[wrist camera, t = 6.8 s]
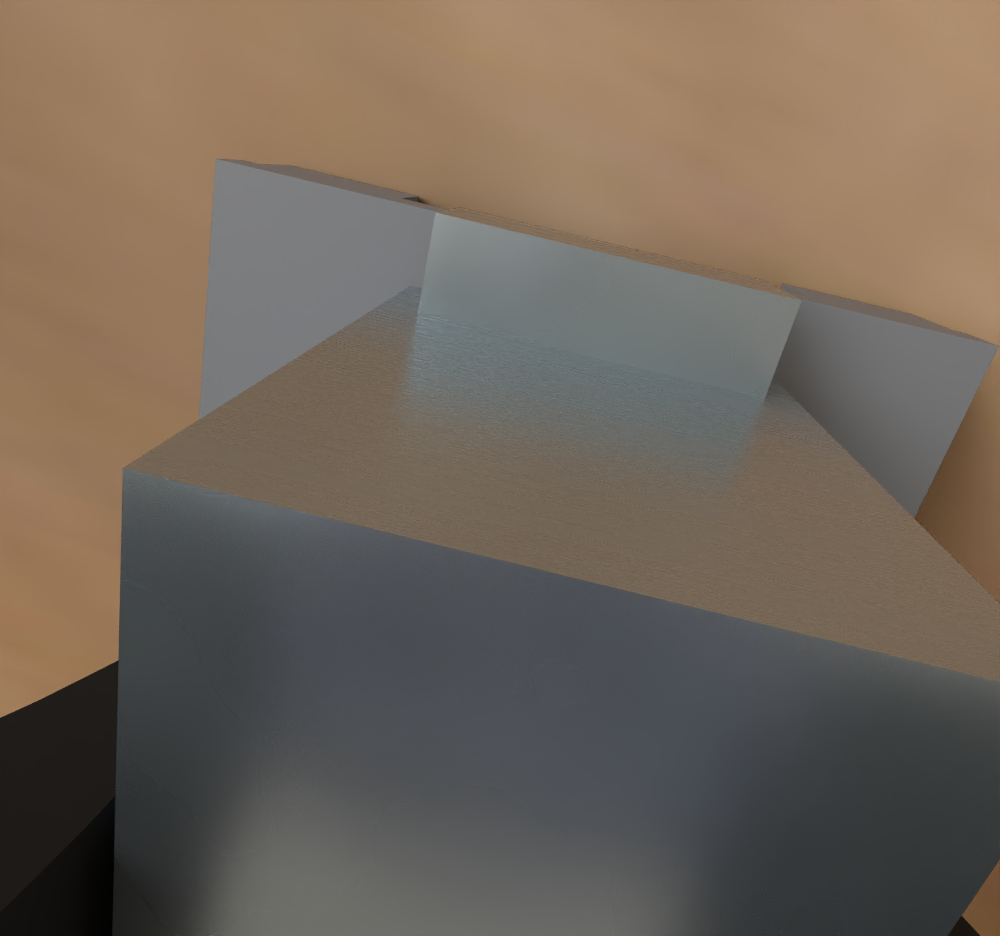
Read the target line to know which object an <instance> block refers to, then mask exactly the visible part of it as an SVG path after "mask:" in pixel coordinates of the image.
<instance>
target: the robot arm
mask: <svg viewBox="0 0 1000 936" xmlns="http://www.w3.org/2000/svg"><path fill="white" fill-rule="evenodd" d="M118 664H119V660H118V661H116V662H114V663H112V664H110V665H108V666H106V667H105V668H103V669H101V670H99V671H97V672H95V673H93V674H91V675H89V676H87V677H85V678H83V679H81V680H79V681H77V682H75V683H73V684H71V685H69V686H67V687H65V688H63V689H61V690H59V691H57V692H55V693H53V694H51V695H49V696H47V697H45V698H43V699H41V700H39V701H36V702H34V703H32V704H30V705H28V706H26V707H23V708H21V709H19V710H17V711H15V712H13V713H10V714H8V715H6V716H3V717H1V718H0V936H112V926H113V882H114V839H115V795H116V751H117V708H118ZM948 936H980V935H979V934H978V933H977V932H976V931H975V930H974V929H973V928H972V926H971V925H970V924H969V923H968V922H967V921H966V920H965V919H964V918H963V917H962V916H961V917H960V919H959V920H958V921H957V923H956V924H955V926H954V927H953V929H952V930H951V932H950V933H949V935H948Z"/></svg>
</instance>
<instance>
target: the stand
mask: <svg viewBox="0 0 1000 936" xmlns="http://www.w3.org/2000/svg"><path fill="white" fill-rule="evenodd" d="M418 198H419V196H415V195H411V194H407V193H403V192H399V191H394V190H390V189H386V188H382V187H378V186H373V185H369V184H365V183H361V182H357V181H353V180H348V179H344V178H340V177H336V176H332V175H328V174H323V173H319V172H315V171H311V170H307V169H302V168H298V167H294V166H290V165H272V164H256V163H252V162H248V161H244V160H229V159H216V162H215V177H214V193H213V209H212V225H211V240H210V256H209V272H208V287H207V303H206V319H205V335H204V350H203V366H202V382H201V397H200V413H199V419H201V418H203V417H204V416H206V415H207V414H209V413H210V412H212V411H214V410H215V409H217V408H218V407H220V406H221V405H223V404H225V403H226V402H228V401H229V400H231V399H232V398H234V397H236V396H237V395H239V394H240V393H242V392H243V391H245V390H247V389H248V388H250V387H251V386H253V385H254V384H256V383H258V382H259V381H261V380H262V379H264V378H266V377H267V376H269V375H270V374H272V373H273V372H275V371H277V370H278V369H280V368H281V367H283V366H284V365H286V364H288V363H289V362H291V361H292V360H294V359H295V358H297V357H299V356H300V355H302V354H303V353H305V352H306V351H308V350H310V349H311V348H313V347H314V346H316V345H317V344H319V343H321V342H322V341H324V340H325V339H327V338H328V337H330V336H332V335H333V334H335V333H336V332H338V331H340V330H341V329H343V328H344V327H346V326H347V325H349V324H351V323H352V322H354V321H355V320H357V319H358V318H360V317H362V316H363V315H365V314H366V313H368V312H369V311H371V310H373V309H374V308H376V307H377V306H379V305H380V304H382V303H384V302H385V301H387V300H388V299H390V298H391V297H393V296H395V295H396V294H398V293H399V292H401V291H402V290H404V289H406V288H407V287H409V286H414V287H418V288H422V286H423V280H424V275H425V269H426V263H427V258H428V252H429V246H430V241H431V235H432V229H433V224H434V218H435V213H436V212H440V211H444V210H448V209H444V208H440V207H436V206H431V205H427V204H423V203H419V202H418ZM781 290H783V291H785V292H787V293H788V294H790V295H792V296H794V297H796V298H798V299H800V300H802V301H801V304H800V306H799V309H798V312H797V314H796V317H795V320H794V322H793V325H792V328H791V330H790V333H789V336H788V338H787V341H786V343H785V346H784V349H783V351H782V354H781V357H780V359H779V362H778V365H777V367H776V370H775V373H774V375H773V378H774V379H775V380H776V381H777V382H778V383H779V384H780V385H781V386H782V387H783V388H784V389H785V390H786V391H787V392H788V393H789V394H790V395H791V396H792V397H793V398H794V399H795V400H796V401H797V402H798V403H799V404H800V405H801V406H802V407H803V408H804V409H805V410H806V411H807V412H808V413H809V414H810V415H811V416H812V417H813V418H814V419H815V420H816V421H817V422H818V423H819V424H820V425H821V426H822V427H823V428H824V429H825V430H826V431H827V432H828V433H829V434H830V435H831V436H832V437H833V438H834V439H835V440H836V441H837V442H838V443H839V444H840V445H841V446H842V447H843V448H844V449H845V450H846V451H847V452H848V453H849V454H850V455H851V456H852V457H853V458H854V459H855V460H856V461H857V462H858V463H859V464H860V465H861V466H862V467H863V468H864V469H865V470H866V471H867V472H868V473H869V474H870V475H871V476H872V477H873V478H874V479H875V480H876V481H877V482H878V483H879V484H880V485H881V486H882V487H883V488H884V489H885V490H886V491H887V492H888V493H889V494H890V495H891V496H892V497H893V498H894V499H895V500H896V501H897V502H898V503H899V504H900V505H901V506H902V507H903V508H904V509H905V510H906V511H907V512H908V513H909V514H910V515H911V516H912V517H913V518H915V516H916V514H917V512H918V510H919V508H920V506H921V504H922V502H923V499H924V497H925V495H926V493H927V491H928V489H929V487H930V485H931V483H932V481H933V479H934V477H935V475H936V473H937V471H938V469H939V467H940V465H941V463H942V461H943V459H944V457H945V455H946V453H947V451H948V449H949V447H950V445H951V443H952V440H953V438H954V436H955V434H956V432H957V430H958V428H959V426H960V424H961V422H962V420H963V418H964V416H965V414H966V412H967V410H968V408H969V406H970V404H971V402H972V400H973V398H974V396H975V394H976V392H977V390H978V388H979V386H980V384H981V382H982V379H983V377H984V375H985V373H986V371H987V369H988V367H989V365H990V363H991V361H992V359H993V357H994V355H995V353H996V351H997V349H998V347H999V346H997V345H994V344H992V343H989V342H987V341H984V340H981V339H979V338H976V337H974V336H971V335H969V334H966V333H962V332H958V331H953V330H950V329H948V328H945V327H943V326H940V325H938V324H935V323H933V322H930V321H928V320H925V319H923V318H920V317H918V316H915V315H912V314H908V313H904V312H900V311H896V310H891V309H887V308H883V307H879V306H875V305H870V304H866V303H862V302H858V301H854V300H850V299H845V298H841V297H837V296H833V295H829V294H825V293H820V292H816V291H812V290H808V289H804V288H799V287H795V286H791V285H787V284H783V285H782V287H781Z"/></svg>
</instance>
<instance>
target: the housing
mask: <svg viewBox="0 0 1000 936" xmlns="http://www.w3.org/2000/svg"><path fill="white" fill-rule="evenodd" d="M801 301H802V300H800V299H798V298H796V297H794V296H792V295H790V294H788V293H787V292H785V291H783V290H781V289H779V288H777V287H775V286H773V285H772V284H770V283H768V282H766V281H764V280H760V279H756V278H751V277H747V276H743V275H739V274H735V273H731V272H726V271H722V270H718V269H714V268H710V267H706V266H702V265H697V264H693V263H689V262H685V261H681V260H677V259H672V258H668V257H664V256H660V255H656V254H652V253H647V252H643V251H639V250H635V249H631V248H627V247H622V246H618V245H614V244H610V243H606V242H602V241H597V240H593V239H589V238H585V237H581V236H577V235H573V234H568V233H564V232H560V231H556V230H552V229H548V228H543V227H539V226H535V225H531V224H527V223H523V222H518V221H514V220H510V219H506V218H502V217H498V216H493V215H489V214H485V213H481V212H477V211H473V210H469V209H464V208H460V207H457V208H453V209H448V210H444V211H440V212H436V213H435V218H434V224H433V229H432V235H431V241H430V246H429V252H428V258H427V263H426V269H425V275H424V280H423V286H422V288H418V287H414V286H409V287H407V288H406V289H404V290H402V291H401V292H399V293H398V294H396V295H395V296H393V297H391V298H390V299H388V300H387V301H385V302H384V303H382V304H380V305H379V306H377V307H376V308H374V309H373V310H371V311H369V312H368V313H366V314H365V315H363V316H362V317H360V318H358V319H357V320H355V321H354V322H352V323H351V324H349V325H347V326H346V327H344V328H343V329H341V330H340V331H338V332H336V333H335V334H333V335H332V336H330V337H328V338H327V339H325V340H324V341H322V342H321V343H319V344H317V345H316V346H314V347H313V348H311V349H310V350H308V351H306V352H305V353H303V354H302V355H300V356H299V357H297V358H295V359H294V360H292V361H291V362H289V363H288V364H286V365H284V366H283V367H281V368H280V369H278V370H277V371H275V372H273V373H272V374H270V375H269V376H267V377H266V378H264V379H262V380H261V381H259V382H258V383H256V384H254V385H253V386H251V387H250V388H248V389H247V390H245V391H243V392H242V393H240V394H239V395H237V396H236V397H234V398H232V399H231V400H229V401H228V402H226V403H225V404H223V405H221V406H220V407H218V408H217V409H215V410H214V411H212V412H210V413H209V414H207V415H206V416H204V417H203V418H201V419H199V420H198V421H196V422H195V423H193V424H192V425H190V426H188V427H187V428H185V429H184V430H182V431H180V432H179V433H177V434H176V435H174V436H173V437H171V438H169V439H168V440H166V441H165V442H163V443H162V444H160V445H158V446H157V447H155V448H154V449H152V450H151V451H149V452H147V453H146V454H144V455H143V456H141V457H140V458H138V459H136V460H135V461H133V462H132V463H130V464H129V465H127V466H125V467H124V468H123V490H122V533H121V577H120V620H119V664H118V708H117V751H116V795H115V839H114V882H113V926H112V936H948V935H949V933H950V932H951V930H952V929H953V927H954V926H955V924H956V923H957V921H958V920H959V919H960V917H961V916H962V914H963V913H964V911H965V910H966V908H967V907H968V905H969V904H970V902H971V901H972V899H973V898H974V896H975V895H976V894H977V892H978V891H979V889H980V888H981V886H982V885H983V883H984V882H985V880H986V879H987V877H988V876H989V874H990V873H991V871H992V870H993V869H994V867H995V866H996V864H997V863H998V861H999V860H1000V604H999V603H998V602H997V601H996V600H995V599H994V598H993V597H992V596H991V595H990V594H989V593H988V592H987V591H986V590H985V589H984V588H983V587H982V586H981V585H980V584H979V583H978V582H977V581H976V580H975V579H974V578H973V577H972V576H971V575H970V574H969V573H968V572H967V571H966V570H965V569H964V568H963V567H962V566H961V565H960V564H959V563H958V562H957V561H956V560H955V559H954V558H953V557H952V556H951V555H950V554H949V553H948V552H947V551H946V550H945V549H944V548H943V547H942V546H941V545H940V544H939V543H938V542H937V541H936V540H935V539H934V538H933V537H932V536H931V535H930V534H929V533H928V532H927V531H926V530H925V529H924V528H923V527H922V526H921V525H920V524H919V523H918V522H917V521H916V520H915V519H914V518H913V517H912V516H911V515H910V514H909V513H908V512H907V511H906V510H905V509H904V508H903V507H902V506H901V505H900V504H899V503H898V502H897V501H896V500H895V499H894V498H893V497H892V496H891V495H890V494H889V493H888V492H887V491H886V490H885V489H884V488H883V487H882V486H881V485H880V484H879V483H878V482H877V481H876V480H875V479H874V478H873V477H872V476H871V475H870V474H869V473H868V472H867V471H866V470H865V469H864V468H863V467H862V466H861V465H860V464H859V463H858V462H857V461H856V460H855V459H854V458H853V457H852V456H851V455H850V454H849V453H848V452H847V451H846V450H845V449H844V448H843V447H842V446H841V445H840V444H839V443H838V442H837V441H836V440H835V439H834V438H833V437H832V436H831V435H830V434H829V433H828V432H827V431H826V430H825V429H824V428H823V427H822V426H821V425H820V424H819V423H818V422H817V421H816V420H815V419H814V418H813V417H812V416H811V415H810V414H809V413H808V412H807V411H806V410H805V409H804V408H803V407H802V406H801V405H800V404H799V403H798V402H797V401H796V400H795V399H794V398H793V397H792V396H791V395H790V394H789V393H788V392H787V391H786V390H785V389H784V388H783V387H782V386H781V385H780V384H779V383H778V382H777V381H776V380H775V379H774V378H773V375H774V373H775V370H776V367H777V365H778V362H779V359H780V357H781V354H782V351H783V349H784V346H785V343H786V341H787V338H788V336H789V333H790V330H791V328H792V325H793V322H794V320H795V317H796V314H797V312H798V309H799V306H800V304H801Z"/></svg>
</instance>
